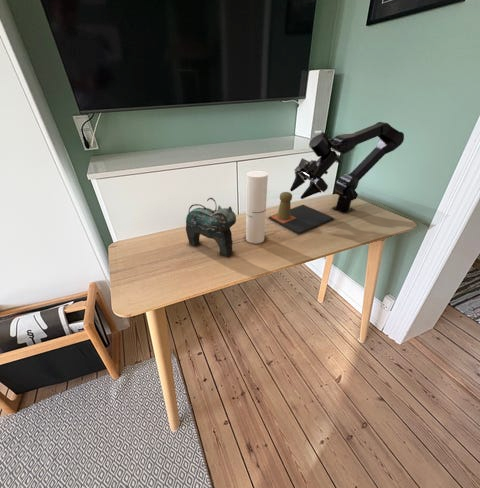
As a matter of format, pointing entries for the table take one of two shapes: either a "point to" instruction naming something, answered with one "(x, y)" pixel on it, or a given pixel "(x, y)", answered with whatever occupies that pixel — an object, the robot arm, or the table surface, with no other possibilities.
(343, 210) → the robot arm
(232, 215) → the ceramic cat
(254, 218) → the cylindrical container
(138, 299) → the table surface
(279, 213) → the cork
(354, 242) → the table surface
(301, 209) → the rubber mat
